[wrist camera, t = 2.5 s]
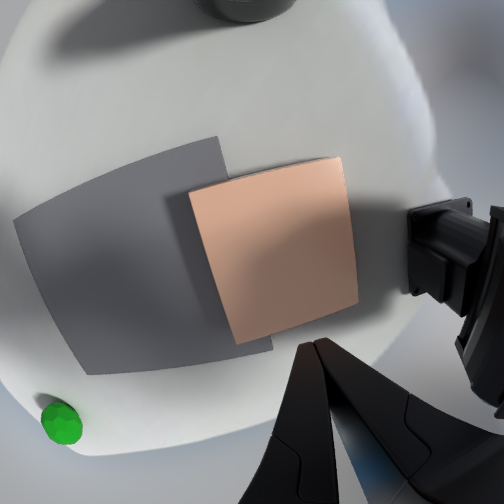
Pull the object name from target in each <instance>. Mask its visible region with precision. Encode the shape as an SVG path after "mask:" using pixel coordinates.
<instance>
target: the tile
mask: <svg viewBox="0 0 504 504" xmlns="http://www.w3.org/2000/svg"><path fill="white" fill-rule="evenodd" d="M189 197H190V200H191V204H192V207H193V211H194V214H195V217H196V221H197V224H198V228H199V231H200V234H201V238H202V241H203V244H204V248H205V251H206V254H207V257H208V261H209V264H210V267H211V270H212V273H213V276H214V279H215V283H216V286H217V289H218V292H219V295H220V298H221V301H222V304H223V307H224V310H225V313H226V316H227V319H228V322H229V325H230V327H231V330H232V333H233V336H234V339H235V342H236V345H238V344H241V343H245V342H248V341H252V340H255V339H258V338H262V337H265V336H268V335H271V334H274V333H277V332H281V331H284V330H287V329H290V328H293V327H296V326H299V325H302V324H304V323H307V322H310V321H313V320H316V319H319V318H321V317H324V316H327V315H329V314H332V313H335V312H337V311H340V310H343V309H345V308H348V307H350V306H353V305H356V304H358V303H359V297H358V282H357V270H356V259H355V250H354V241H353V233H352V225H351V217H350V210H349V204H348V197H347V191H346V185H345V179H344V174H343V169H342V163H341V158H340V157H326V158H321V159H316V160H311V161H306V162H301V163H296V164H291V165H287V166H282V167H278V168H274V169H269V170H265V171H261V172H257V173H253V174H249V175H245V176H241V177H237V178H233V179H229V180H225V181H222V182H218V183H214V184H211V185H207V186H204V187H200V188H197V189H193V190H190V191H189Z"/></svg>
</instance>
